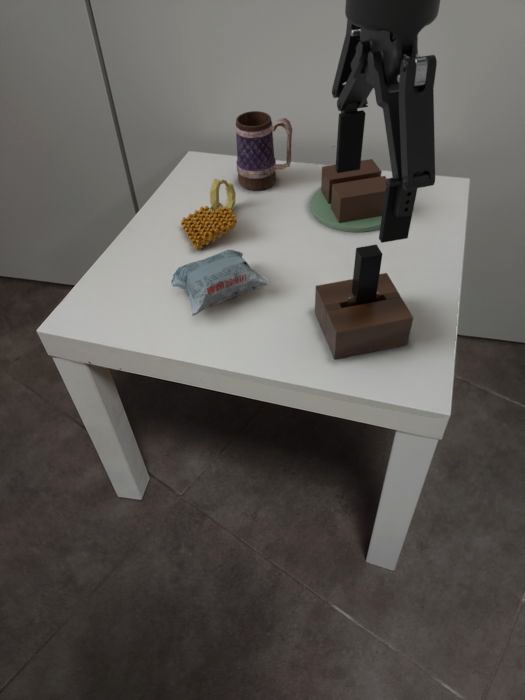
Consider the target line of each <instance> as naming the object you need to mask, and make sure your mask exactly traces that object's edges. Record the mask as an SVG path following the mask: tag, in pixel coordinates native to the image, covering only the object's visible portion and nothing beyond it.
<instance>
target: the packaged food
mask: <svg viewBox="0 0 525 700" xmlns="http://www.w3.org/2000/svg"><path fill="white" fill-rule="evenodd" d="M243 256H244V254H243V252H241V251H238V250H234V249H226V250H224V251H221V252H219V253H217V254H214V255H211V256H209V257H205V258H204V259H201V260H196V261H191V262H189V263H186V264H184V265H182V266H179V267H177V269H175V272H174V273H173V275H172V279H171V286H172V287H174V288H175V287H178V288H180V289H181V290H183V291H184V292H186V293H188V297H189V301H190V311H191V316H193V317H194V316H196V315H198V314H200V313H202V312H203V311H206V310H209V309H211V308H213V307H215V306H217V305H219V304H221V303H223V302H225V301H226V300H229V299H234V298H236V297H238V296H241V295H243V294H246V293H249V292H252V291H256V290H258V289H259V288H262V287H264V286H267V285H269V283H270V279H268V278H267V277H265V276H264V275H262V274H261V273H259V271H258V270H256V269H253V268H252V267H251V266H250V264H249V263H248V262H247V261H246V260H245V259H244V258H243Z"/></svg>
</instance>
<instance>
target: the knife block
mask: <svg viewBox="0 0 525 700" xmlns="http://www.w3.org/2000/svg"><path fill="white" fill-rule="evenodd" d="M352 283H353V278H351V279H346V280H339V281H335V282H330V283H324V284H317V285H315V289H314V290H315V294H314V315H315V317H316V320H317V322H318V324H319V327H320V329H321V332H322V333H323V337H324V339H325V341H326V344H327V345H328V348H329V351H330V353H331V355H332V357H333V359H334V360H337V359H343V358H348V357H349V358H350V357H353V356H359V355H364V354H368V353H374V352H378V351H384V350H389V349H393V348H394V349H395V348H397V347H403V346H407V345H408V343H409V340H410V334H411V330H412V326H413V322H414V316H413V314H412V313H411V311H410V310H409V308H408V306H407V304H406V303H405V301H404V299H403V298H402V296H401V295H400V293H399V291H398V289H397V288H396V286H395V284H394V283H393V281H392V279H391V278H390V276H389V274H388V273H387V272H384V273H380V274H379V281H378V288H377V292H378V293H379V296H378V301H377V302H372V303H367V304H361V305H356V306H351V307H347V306H348V297H353V294H352Z"/></svg>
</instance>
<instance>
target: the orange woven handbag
mask: <svg viewBox="0 0 525 700" xmlns="http://www.w3.org/2000/svg"><path fill="white" fill-rule="evenodd" d="M222 184H224V187H225V188H224V189H225V193H226V196H227V197H226V202H225V205H223V204H222V203H221V202H220V188H221V185H222ZM236 193H237V192H236V189H235V186H234V184H233V182H228V181H227V180H226V179H217V178H214V179H213V180H212V183H211V186H210V190H209V203H210V205H211V206H210V207H209V206H208V205H205V206H201V207H199V209H198V210H197V209H195V211H194V213H189V214H188V215H187V217H184V216H183V217H182V220H181V219H180V220H181V221H180V225H181V226H182V229H184V233H186V236H187V238H188V239H189V241H190V242H191V244H192V245H193V248H194V249H196V250H198V249H200V250H201V249H202V248H203V246H205V245H206V246H208V245H209V244H210V242H211V241H212V242H215V241H216V238H219V239H220V238H221V237H222V236H223V234H224V235H226V234H228V233H229V232H228V231H229V230H230V232H233V230H234V229H235V227H237V223H238V220H237V215H236V214H234V211H233V210H234V207H235V205H236V198H237V197H236V196H237V195H236Z"/></svg>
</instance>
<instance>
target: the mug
mask: <svg viewBox="0 0 525 700" xmlns="http://www.w3.org/2000/svg"><path fill="white" fill-rule="evenodd" d="M278 127H282V128H283V129H284V130H285V132H286V135H287V136H286V162H285V163H277V162H276V157H275V147H274V135H273V132H276V131H277V128H278ZM235 135H236V157H237V158H236V171H237V180H238V184H239V185H240V186H241V187H242V188H244V189H246V190H250V191H263V190H266V189H268V188H270V187H271V186H273V185H274V184H275V183H276V180H277V174H276V172H277V171H284V170H286V169H287V168H289V167H290V166H291V163H292V138H293V126H292V123H291V121H290V120H289V119H287V118H286V117H284V118H279V119H278V120H275V122H274V124H273V121H272V117H271V115H270V114H269V113H267V112H264V111H260V110H252V111H246V112H243V113H241V114H239V115H238V116H237V117H236V119H235Z"/></svg>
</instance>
